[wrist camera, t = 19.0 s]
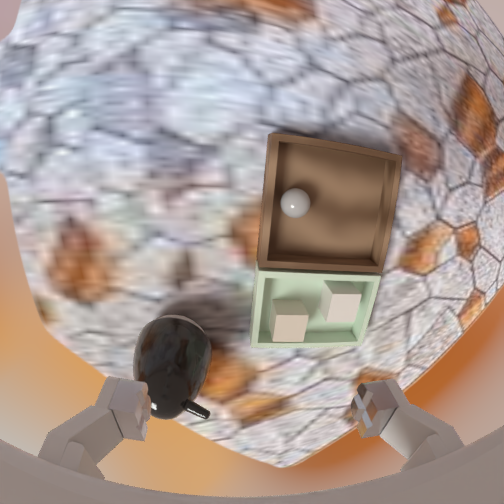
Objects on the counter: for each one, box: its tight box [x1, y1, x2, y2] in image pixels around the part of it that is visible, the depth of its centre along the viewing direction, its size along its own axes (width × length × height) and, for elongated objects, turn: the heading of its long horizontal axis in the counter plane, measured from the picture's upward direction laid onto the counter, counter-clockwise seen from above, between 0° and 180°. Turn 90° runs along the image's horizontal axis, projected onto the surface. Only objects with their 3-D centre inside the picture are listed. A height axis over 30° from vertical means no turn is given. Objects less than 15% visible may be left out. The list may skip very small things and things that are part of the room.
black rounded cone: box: [133, 315, 212, 420], centre depth 33 cm, size 10×10×15 cm
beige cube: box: [269, 299, 309, 342], centre depth 37 cm, size 4×4×4 cm
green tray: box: [249, 260, 381, 348], centre depth 38 cm, size 11×16×4 cm
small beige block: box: [318, 280, 362, 322], centre depth 37 cm, size 4×4×4 cm
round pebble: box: [280, 188, 311, 218], centre depth 33 cm, size 3×3×3 cm
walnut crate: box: [257, 133, 402, 273], centre depth 34 cm, size 15×16×4 cm
